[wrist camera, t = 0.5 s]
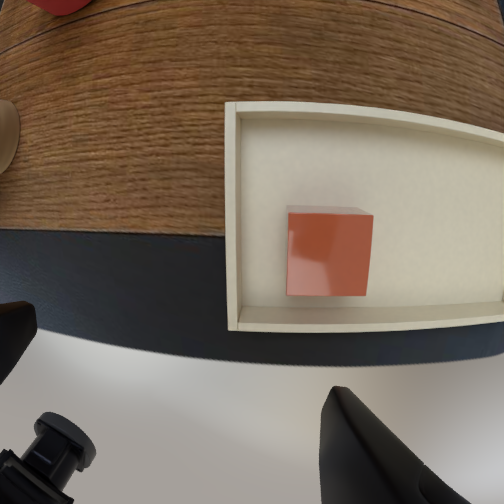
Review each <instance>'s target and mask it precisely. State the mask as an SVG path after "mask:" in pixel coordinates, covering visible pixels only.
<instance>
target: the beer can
mask: <svg viewBox="0 0 504 504" xmlns="http://www.w3.org/2000/svg"><path fill="white" fill-rule="evenodd" d="M27 1H29V2H30V3H32V4H34V5H36V6H38V7H40V8H42V9H44V10H45V11H47V12H49V13H51V14H53V15H56V16H60V15H68V14H70V13H73V12H76V11H78V10H79V9H81V8H83V7H84V6H86V5H87V4H88V3H89V2H91V1H92V0H27Z"/></svg>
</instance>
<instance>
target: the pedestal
mask: <svg viewBox="0 0 504 504" xmlns="http://www.w3.org/2000/svg"><path fill="white" fill-rule="evenodd" d="M19 134H20V120H19V115H18V112H17V109H16V107H15V106H14V105H13V103H11V102H10V101H7V100H1V99H0V174H1V173H2V172H4V171H5V170H6V169H7V167H8V166H9V165H10V163H11V161H12V159H13V157H14V155H15V152H16V149H17V146H18V141H19Z"/></svg>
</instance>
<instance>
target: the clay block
mask: <svg viewBox="0 0 504 504" xmlns="http://www.w3.org/2000/svg"><path fill="white" fill-rule="evenodd" d="M373 218H374V216H373V215H372V214H370V213H368V212H366V211H363V210H361V209H359V208H357V207H336V206H305V205H286V239H285V290H286V296H366V292H367V284H368V276H369V266H370V256H371V245H372V233H373Z"/></svg>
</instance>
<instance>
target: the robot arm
mask: <svg viewBox="0 0 504 504" xmlns="http://www.w3.org/2000/svg"><path fill="white" fill-rule="evenodd" d="M36 333H37V321H36V313H35V308H34V306H33V305H32V304H30V303H28V302H26V301H18V302H11V303H5V304H0V385H1V384H2V382H3V381H4V380H5V379H6V377H7V376H8V375H9V373H10V372H11V371H12V369H13V368H14V367H15V365H16V364H17V362H18V361H19V359H20V358H21V356H22V355H23V353H24V351H25V350H26V348H27V347H28V345H29V344H30V342H31V341H32V339H33V338H34V337H35V335H36ZM36 425H37V435H38V436H37V437H36V439H35V440H34V441H33V443H32V444H31V445H30V447H29V448H28V449H27V450H26V452H25V453H24V454H23V455H22V457H21V458H19V457H17V456H16V455H15V454H14V452H13V451H12V450H11V449H10V450H9V451H7V450H5V449H3V451H2V452H1V453H0V504H73V502H74V499H73V498H71V497H69V496H67V495H66V494H64V493H63V492H62V491H63V489H64V487H65V486H66V484H67V482H68V481H69V479H70V477H71V476H72V474H73V472H74V471H75V469H76V470H77V471H79V472H82V471H83V470H84V459H85V448H84V447H83V446H82V445H80V444H78V443H76V442H75V441H73V440H72V439H70V438H68V437H67V436H65V435H63V434H62V433H60V432H59V431H57V430H56V429H54V428H53V427H51V426H50V425H48V424H47V423H45V422H44V421H42V420H41V419H37V421H36ZM319 470H320V485H321V501H322V504H471V503H470V502H468V501H467V500H466V499H464V498H463V497H462V496H460V495H459V494H458V493H456V492H455V491H454V490H453V489H452V488H450V487H449V486H448V485H447V484H445V483H444V482H443V481H442V480H441V479H440V478H439V477H438V476H437V475H436V474H435V473H434V472H432V471H431V470H430V469H429V468H428V467H427V466H426V465H424V463H423V462H422V461H421V460H420V459H419V458H418V457H417V456H416V455H415V454H414V453H413V452H412V451H411V450H410V449H409V448H408V447H407V446H406V445H405V444H404V443H403V442H402V441H401V440H400V439H399V438H397V436H396V435H394V434H393V433H392V432H391V431H390V430H389V429H388V428H387V427H386V426H385V425H384V424H383V423H382V422H381V421H380V420H379V419H378V418H377V417H376V416H375V415H374V414H373V413H372V412H371V411H370V410H369V409H368V407H367V406H366V405H364V403H362V402H361V400H360V399H359V398H358V397H357V396H356V395H355V394H353V392H352V391H351V390H350V389H348V388H347V387H340V386H334V387H332V389H331V390H330V392H329V395H328V397H327V399H326V402H325V403H324V406H323V408H322V412H321V430H320V449H319Z"/></svg>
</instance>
